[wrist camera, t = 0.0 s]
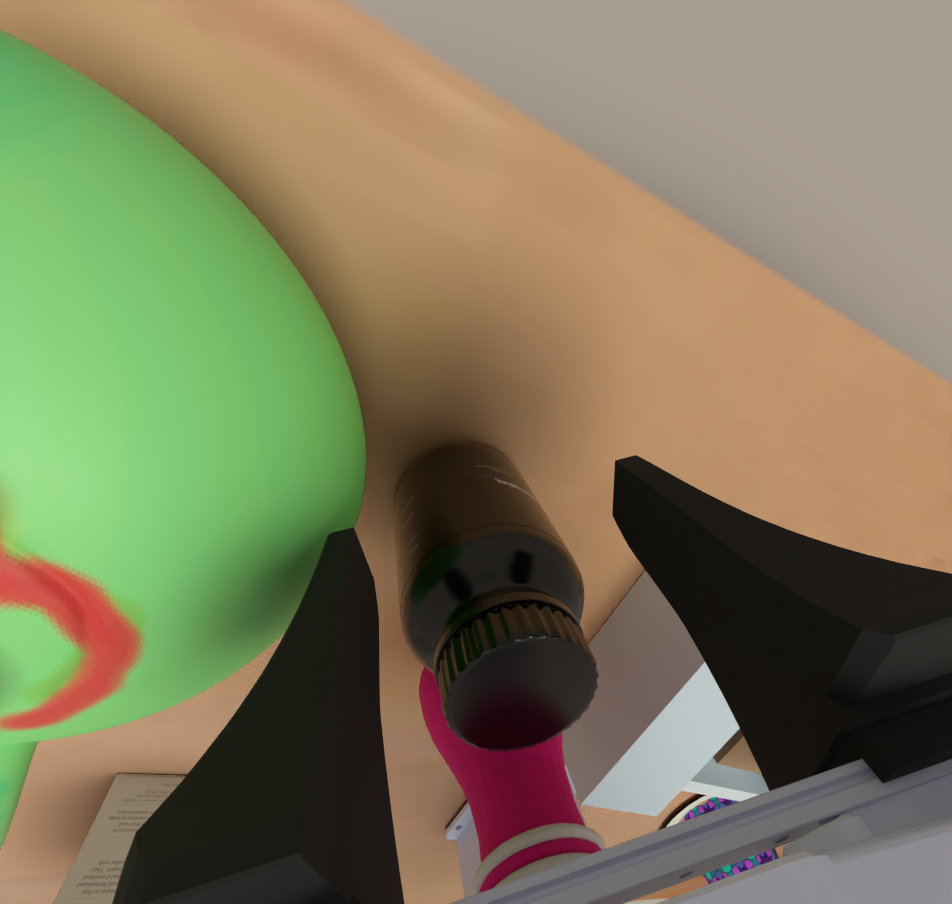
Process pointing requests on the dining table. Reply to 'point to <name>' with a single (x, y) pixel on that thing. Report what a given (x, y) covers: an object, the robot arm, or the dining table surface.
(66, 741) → the dining table surface
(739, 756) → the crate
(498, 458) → the supplement bottle
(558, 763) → the pepper mill
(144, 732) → the dining table surface
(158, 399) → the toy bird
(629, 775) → the ute bed
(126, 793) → the skincare box
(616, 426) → the dining table surface
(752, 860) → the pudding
